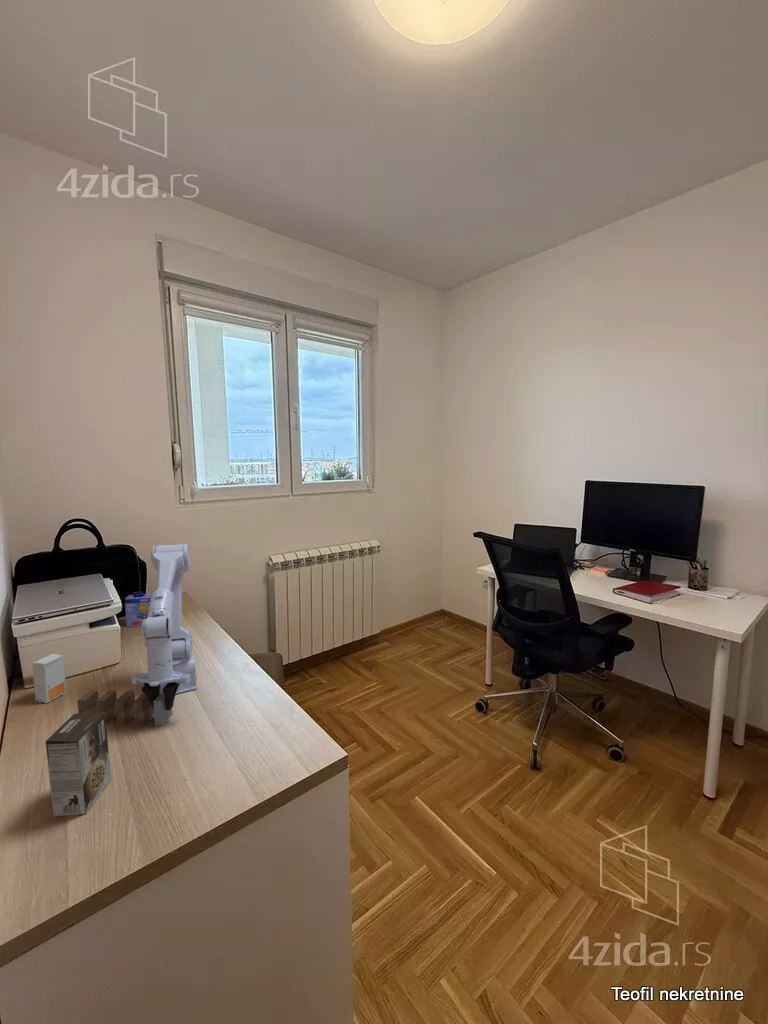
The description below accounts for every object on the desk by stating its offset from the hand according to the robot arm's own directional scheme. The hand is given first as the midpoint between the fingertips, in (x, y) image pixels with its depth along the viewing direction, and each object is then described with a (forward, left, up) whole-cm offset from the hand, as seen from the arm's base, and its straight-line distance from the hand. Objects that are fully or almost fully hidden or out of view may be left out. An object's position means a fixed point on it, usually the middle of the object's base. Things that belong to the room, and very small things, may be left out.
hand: (163, 708), depth 111 cm
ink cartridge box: (+6, -79, -4) cm, 79 cm away
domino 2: (+13, -8, -3) cm, 15 cm away
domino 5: (0, 0, -3) cm, 4 cm away
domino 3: (+9, -5, -3) cm, 11 cm away
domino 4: (+4, -2, -3) cm, 6 cm away
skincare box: (+28, -28, -4) cm, 40 cm away
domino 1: (+17, -10, -3) cm, 20 cm away
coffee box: (+15, +21, -4) cm, 26 cm away
